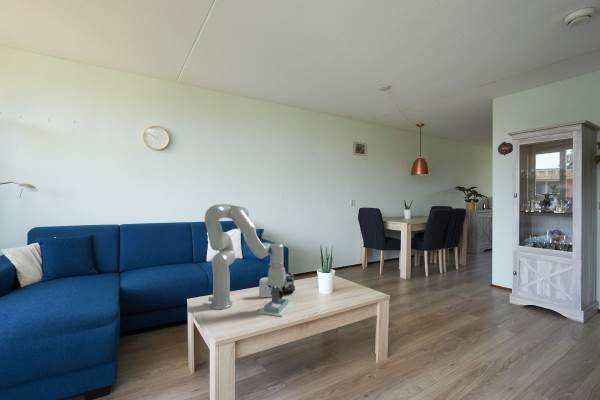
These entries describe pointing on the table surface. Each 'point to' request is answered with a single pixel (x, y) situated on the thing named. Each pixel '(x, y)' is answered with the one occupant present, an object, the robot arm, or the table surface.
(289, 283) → the dark grey rough lump
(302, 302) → the table surface
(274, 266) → the robot arm
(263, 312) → the dock
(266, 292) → the photo printer
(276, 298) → the servo block
